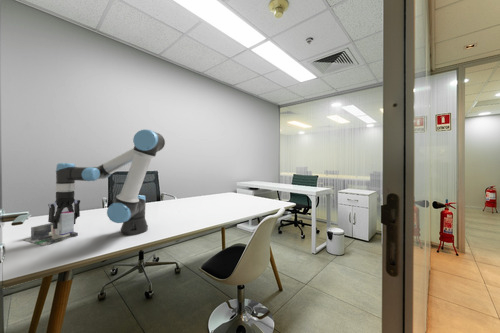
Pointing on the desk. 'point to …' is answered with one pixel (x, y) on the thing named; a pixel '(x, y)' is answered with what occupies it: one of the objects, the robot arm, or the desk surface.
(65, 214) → the supplement box
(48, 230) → the gauge base
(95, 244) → the desk surface
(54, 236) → the plunger
